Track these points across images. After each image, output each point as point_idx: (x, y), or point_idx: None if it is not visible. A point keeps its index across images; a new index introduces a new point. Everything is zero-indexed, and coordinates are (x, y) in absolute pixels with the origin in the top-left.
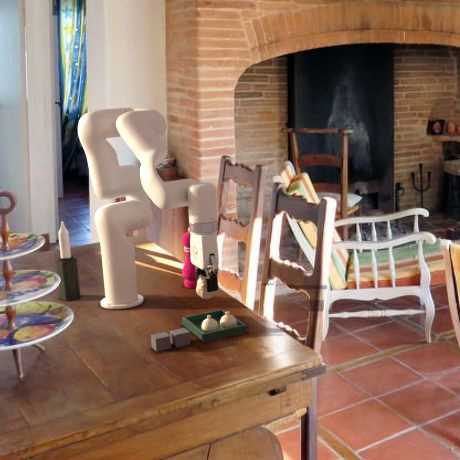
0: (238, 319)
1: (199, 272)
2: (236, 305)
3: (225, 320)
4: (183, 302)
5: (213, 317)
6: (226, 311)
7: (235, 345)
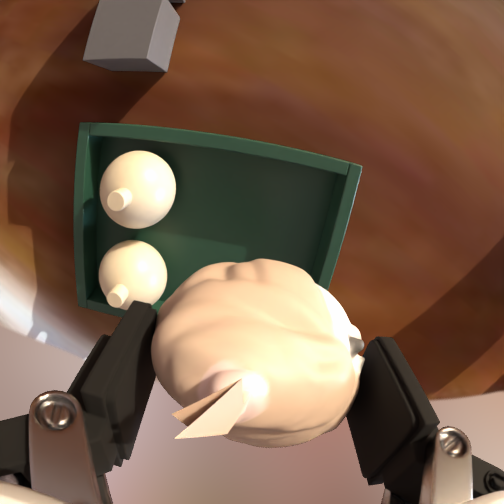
0: None
1: (403, 441)
2: None
3: (105, 260)
4: (500, 299)
5: None
6: None
7: (28, 203)
